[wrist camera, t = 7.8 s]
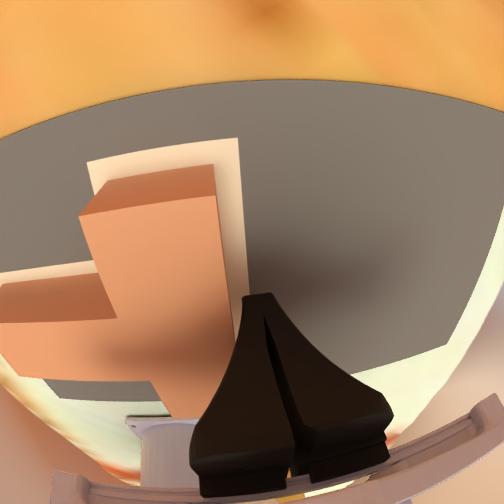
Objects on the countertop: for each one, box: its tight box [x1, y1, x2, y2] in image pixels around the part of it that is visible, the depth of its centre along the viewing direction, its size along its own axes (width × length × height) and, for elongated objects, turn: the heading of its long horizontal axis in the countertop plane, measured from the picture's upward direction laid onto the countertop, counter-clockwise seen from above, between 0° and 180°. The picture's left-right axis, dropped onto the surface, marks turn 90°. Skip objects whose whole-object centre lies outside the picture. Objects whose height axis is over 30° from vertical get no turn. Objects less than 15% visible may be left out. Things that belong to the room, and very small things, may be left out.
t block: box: [0, 164, 236, 419], centre depth 12 cm, size 12×12×3 cm
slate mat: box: [0, 80, 504, 401], centre depth 14 cm, size 18×31×1 cm, turn 93°
